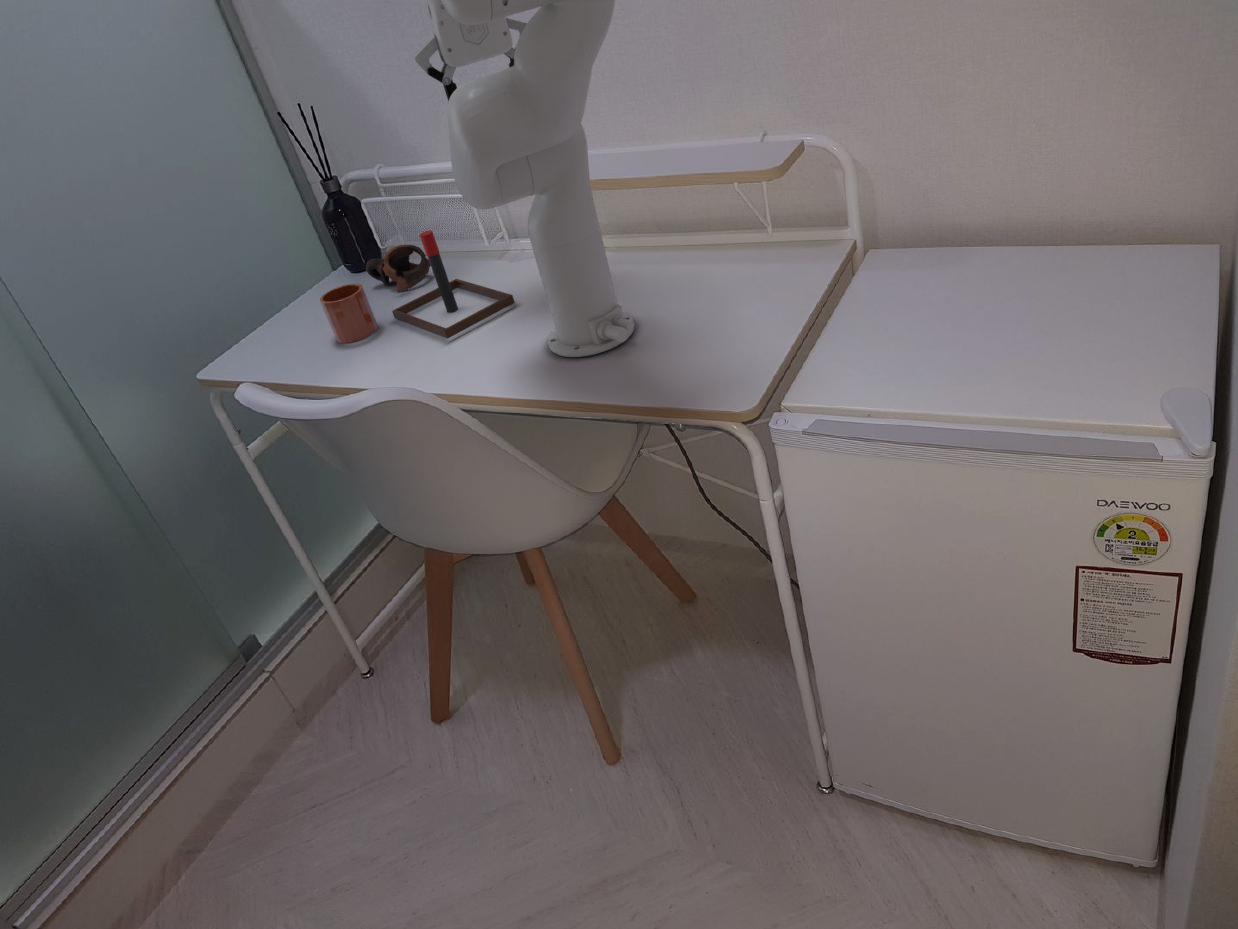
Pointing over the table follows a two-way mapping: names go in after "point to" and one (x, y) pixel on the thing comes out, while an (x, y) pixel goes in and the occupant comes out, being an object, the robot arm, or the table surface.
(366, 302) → the pen cup
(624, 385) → the table surface
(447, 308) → the marker
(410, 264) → the pottery mug
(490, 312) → the tray
